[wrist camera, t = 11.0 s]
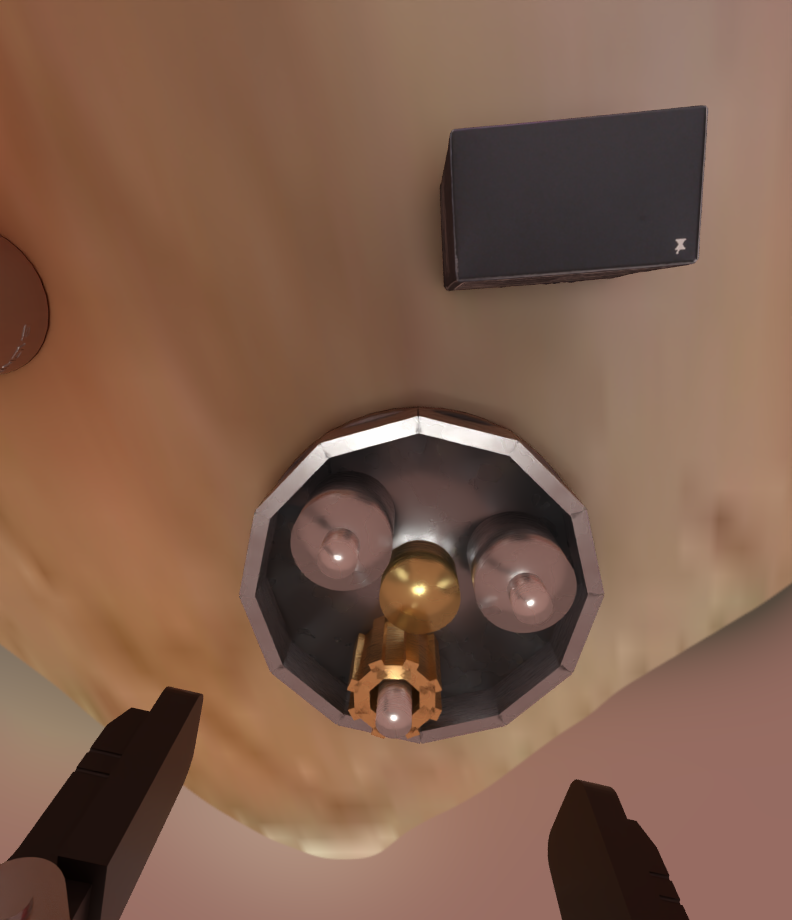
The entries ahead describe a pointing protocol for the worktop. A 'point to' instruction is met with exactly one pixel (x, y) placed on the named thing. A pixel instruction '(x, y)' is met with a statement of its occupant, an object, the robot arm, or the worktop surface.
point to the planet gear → (395, 672)
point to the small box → (572, 198)
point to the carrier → (423, 567)
